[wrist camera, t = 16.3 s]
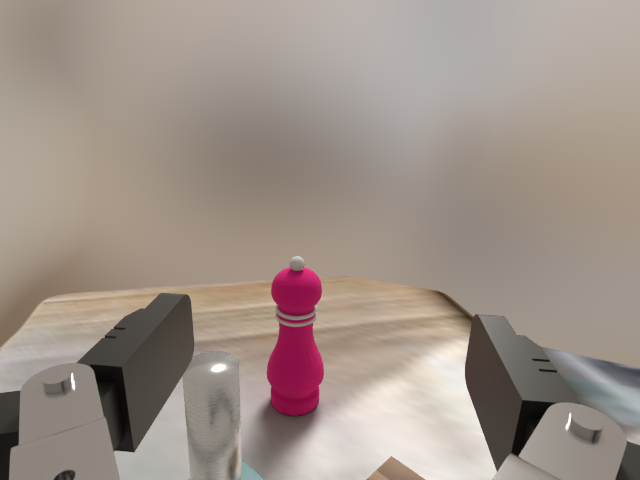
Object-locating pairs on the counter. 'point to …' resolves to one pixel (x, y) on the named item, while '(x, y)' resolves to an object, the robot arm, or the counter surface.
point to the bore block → (394, 472)
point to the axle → (213, 416)
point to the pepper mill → (295, 341)
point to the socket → (248, 473)
